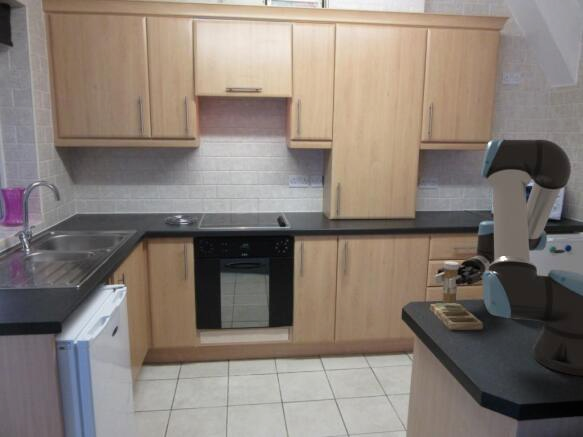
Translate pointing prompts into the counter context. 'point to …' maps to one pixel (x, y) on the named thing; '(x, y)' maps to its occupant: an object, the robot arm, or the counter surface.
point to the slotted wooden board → (456, 316)
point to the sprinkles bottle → (449, 273)
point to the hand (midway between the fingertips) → (442, 281)
